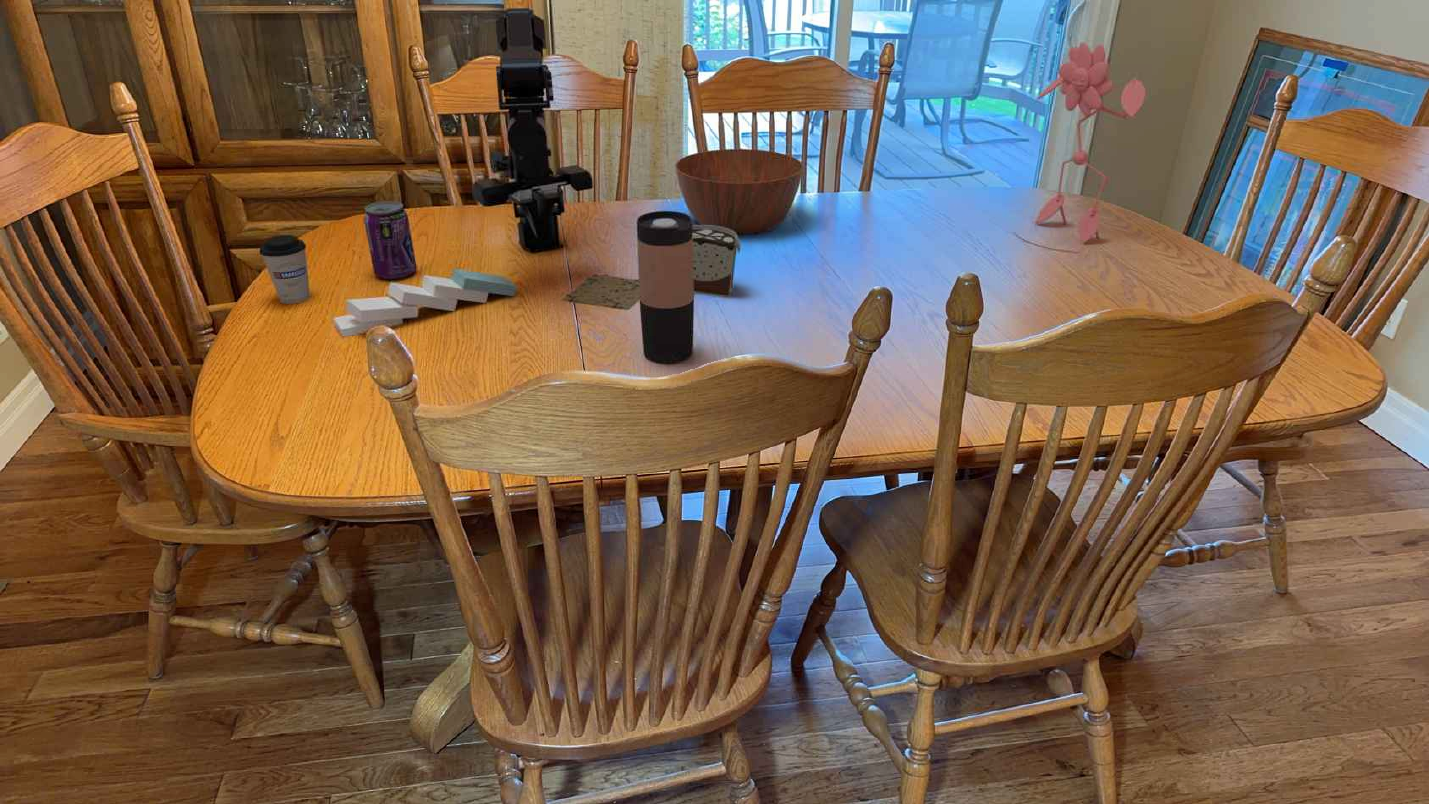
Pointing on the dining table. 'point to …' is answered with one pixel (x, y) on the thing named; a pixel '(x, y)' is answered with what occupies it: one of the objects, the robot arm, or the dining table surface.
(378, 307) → the domino
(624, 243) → the dining table surface
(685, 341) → the travel mug
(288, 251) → the coffee cup
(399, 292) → the domino
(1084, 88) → the figurine
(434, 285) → the domino
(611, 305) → the speckled square tile
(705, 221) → the bowl
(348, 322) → the domino
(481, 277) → the domino
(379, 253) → the beverage can
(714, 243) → the food container
